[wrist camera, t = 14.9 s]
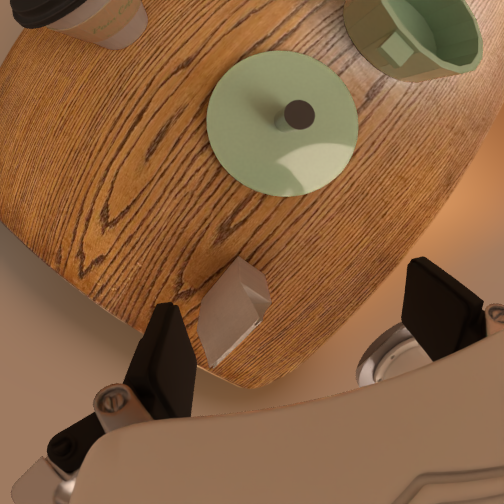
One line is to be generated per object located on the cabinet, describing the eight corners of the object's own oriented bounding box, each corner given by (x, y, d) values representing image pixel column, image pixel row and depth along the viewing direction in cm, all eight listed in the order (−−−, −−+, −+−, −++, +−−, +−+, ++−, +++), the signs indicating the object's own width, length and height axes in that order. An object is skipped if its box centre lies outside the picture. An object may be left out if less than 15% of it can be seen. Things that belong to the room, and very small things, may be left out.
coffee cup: (147, 66, 22) (76, 9, 8) (73, 64, 20) (-15, 33, 7) (175, -5, 19) (142, -88, 5) (102, -4, 17) (40, -61, 3)
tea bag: (201, 299, 32) (192, 358, 22) (238, 255, 30) (241, 306, 21) (227, 315, 33) (227, 377, 23) (264, 274, 31) (278, 329, 22)
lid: (378, 121, 25) (413, 119, 19) (292, 223, 29) (308, 245, 23) (272, 29, 21) (283, 0, 15) (177, 134, 25) (160, 131, 19)
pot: (457, 40, 21) (498, 30, 13) (396, 119, 25) (445, 116, 17) (386, -32, 17) (418, -58, 9) (304, 32, 22) (330, -3, 14)
